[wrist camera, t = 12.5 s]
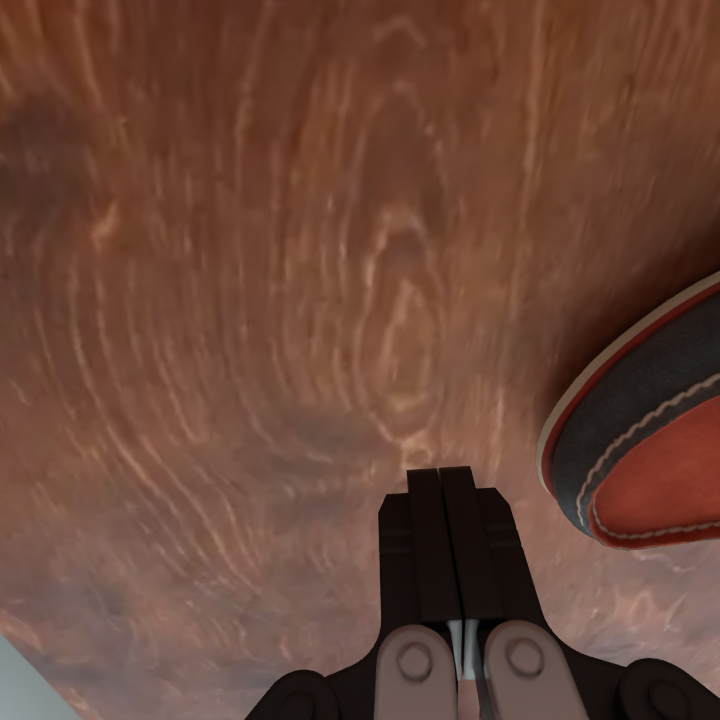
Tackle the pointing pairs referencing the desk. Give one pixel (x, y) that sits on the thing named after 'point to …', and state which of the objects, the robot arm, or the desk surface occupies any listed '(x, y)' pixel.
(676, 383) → the boat shoe
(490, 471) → the desk surface
